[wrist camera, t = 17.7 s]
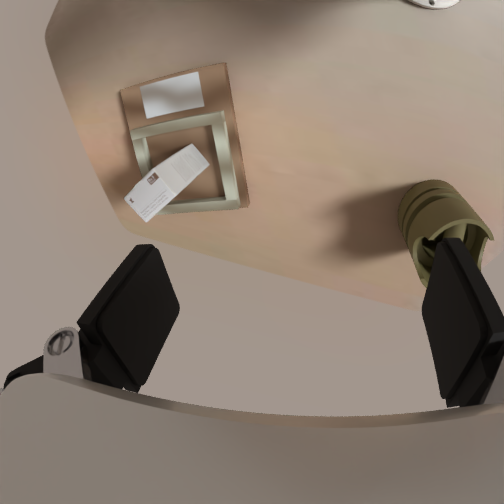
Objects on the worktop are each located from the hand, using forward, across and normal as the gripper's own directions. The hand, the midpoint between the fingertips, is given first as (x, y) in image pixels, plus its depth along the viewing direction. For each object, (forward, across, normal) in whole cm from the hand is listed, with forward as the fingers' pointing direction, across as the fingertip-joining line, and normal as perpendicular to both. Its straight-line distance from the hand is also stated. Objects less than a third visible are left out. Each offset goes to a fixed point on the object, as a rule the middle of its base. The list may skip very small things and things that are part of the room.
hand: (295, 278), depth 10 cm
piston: (+34, -18, +15) cm, 41 cm away
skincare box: (+32, +18, +5) cm, 37 cm away
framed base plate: (+33, +18, +2) cm, 38 cm away
